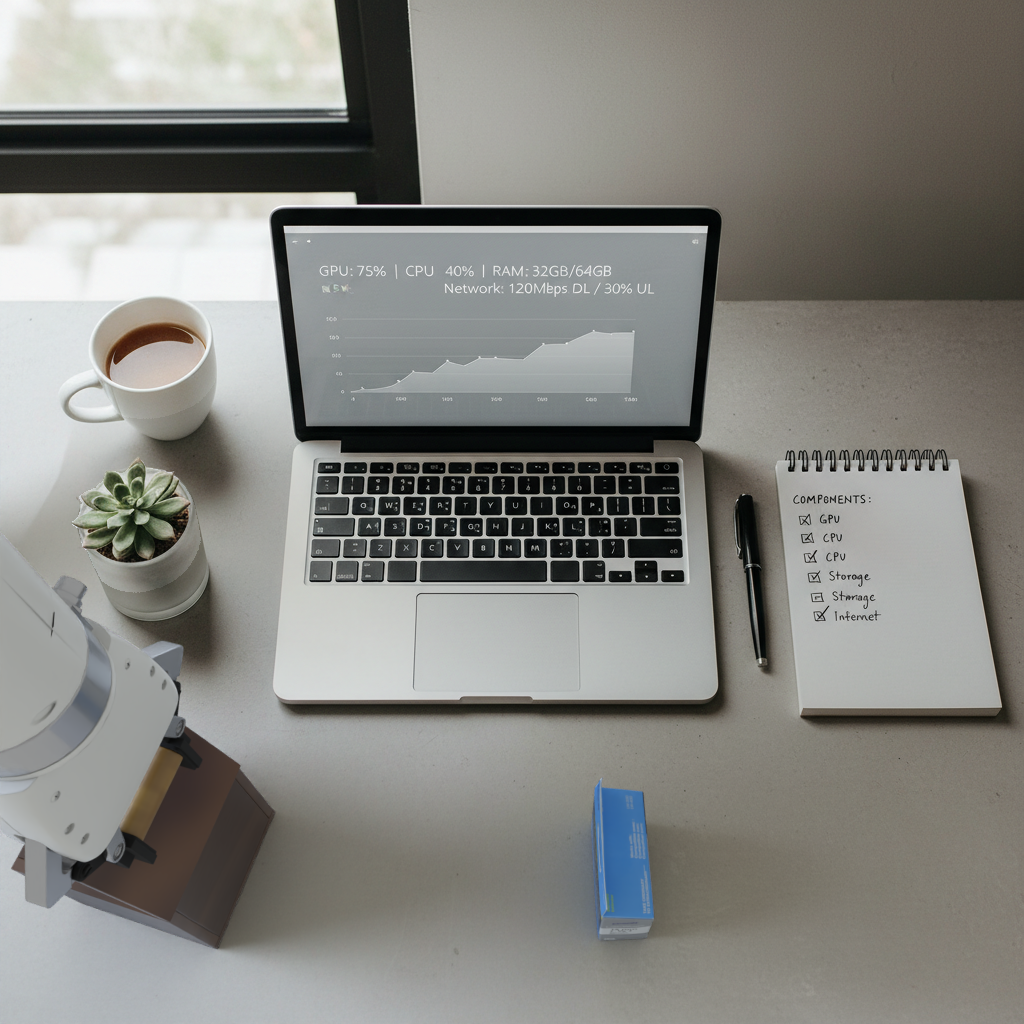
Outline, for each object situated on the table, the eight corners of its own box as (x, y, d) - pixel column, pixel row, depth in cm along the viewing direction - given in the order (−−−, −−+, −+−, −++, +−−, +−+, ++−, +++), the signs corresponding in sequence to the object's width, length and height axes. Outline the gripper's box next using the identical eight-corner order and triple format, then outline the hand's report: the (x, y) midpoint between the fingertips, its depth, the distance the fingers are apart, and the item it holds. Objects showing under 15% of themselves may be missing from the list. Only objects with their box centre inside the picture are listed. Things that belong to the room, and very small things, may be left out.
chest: (79, 902, 75) (10, 868, 65) (145, 771, 81) (90, 721, 71) (217, 949, 73) (168, 922, 63) (275, 811, 79) (238, 766, 69)
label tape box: (647, 941, 73) (666, 910, 63) (592, 942, 73) (603, 911, 63) (637, 820, 78) (654, 773, 67) (586, 821, 78) (594, 774, 67)
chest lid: (25, 858, 54) (87, 877, 52) (120, 683, 59) (180, 694, 57) (161, 919, 63) (218, 937, 61) (232, 763, 68) (287, 774, 66)
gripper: (46, 511, 49) (166, 661, 64) (-175, 854, 40) (25, 932, 55) (182, 546, 47) (272, 691, 63) (-15, 909, 39) (144, 973, 54)
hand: (155, 803), depth 59 cm, fingers closed on chest lid, 5 cm apart
